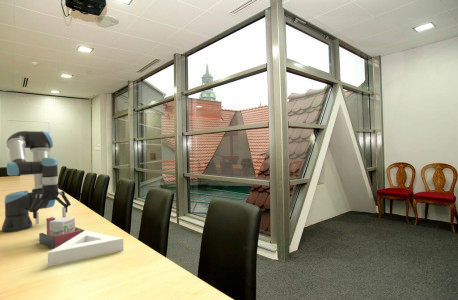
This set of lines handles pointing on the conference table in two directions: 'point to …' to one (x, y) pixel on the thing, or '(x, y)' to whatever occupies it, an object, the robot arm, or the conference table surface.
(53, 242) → the lane rails
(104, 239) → the triangle block
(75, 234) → the pull frame
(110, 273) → the conference table surface
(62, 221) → the ink box
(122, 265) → the conference table surface
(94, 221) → the conference table surface
